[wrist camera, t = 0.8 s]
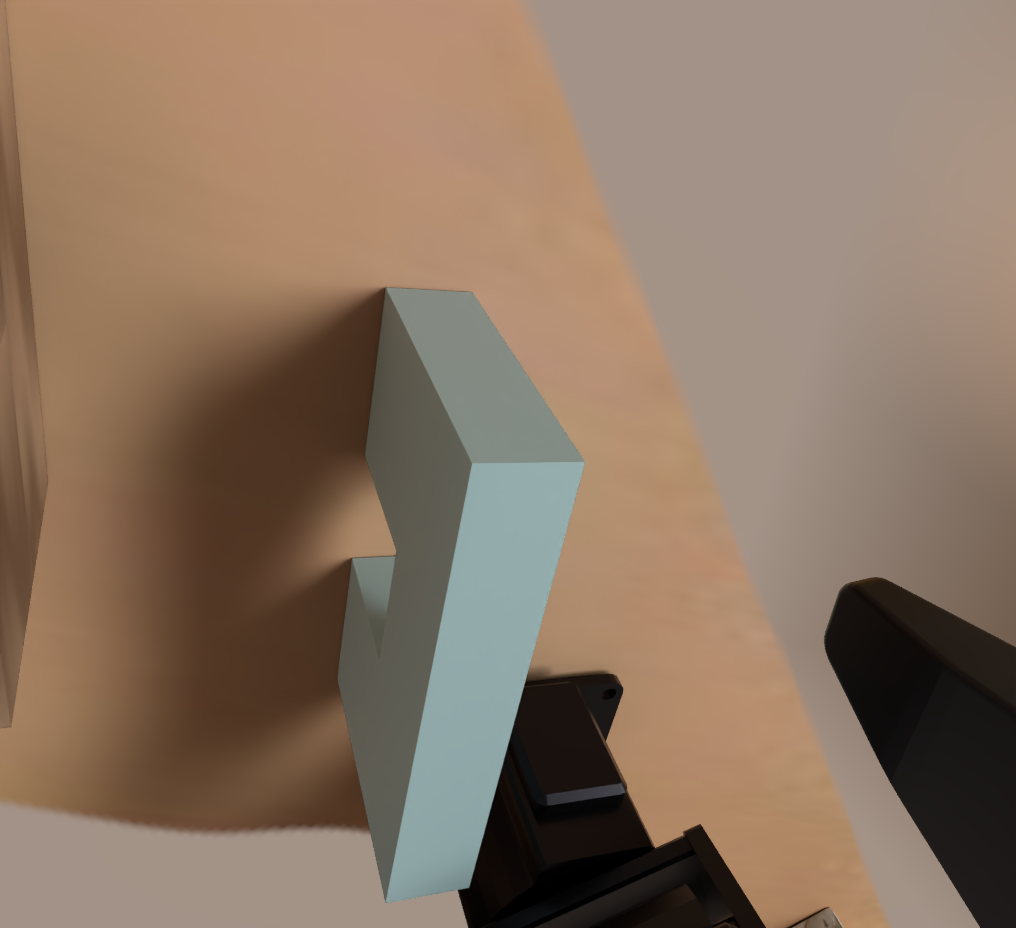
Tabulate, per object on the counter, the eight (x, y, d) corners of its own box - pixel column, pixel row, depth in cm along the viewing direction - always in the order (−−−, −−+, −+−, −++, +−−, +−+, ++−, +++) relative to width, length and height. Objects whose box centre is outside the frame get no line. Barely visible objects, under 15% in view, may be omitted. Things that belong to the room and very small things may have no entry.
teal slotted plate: (405, 671, 27) (469, 888, 22) (337, 678, 27) (385, 903, 21) (472, 292, 21) (585, 462, 16) (385, 287, 20) (471, 463, 15)
